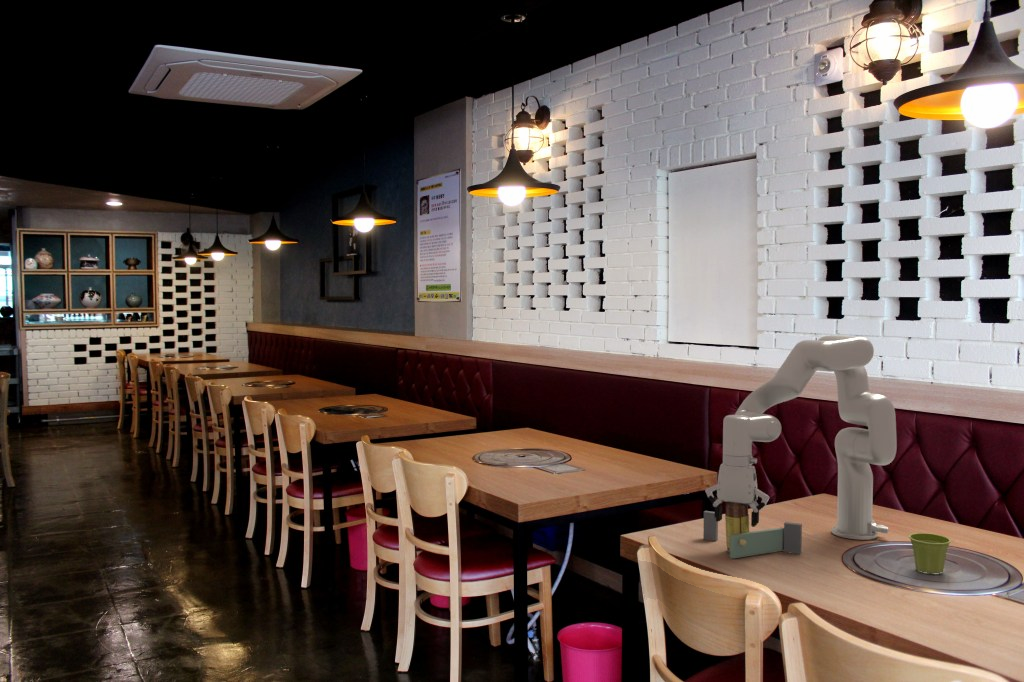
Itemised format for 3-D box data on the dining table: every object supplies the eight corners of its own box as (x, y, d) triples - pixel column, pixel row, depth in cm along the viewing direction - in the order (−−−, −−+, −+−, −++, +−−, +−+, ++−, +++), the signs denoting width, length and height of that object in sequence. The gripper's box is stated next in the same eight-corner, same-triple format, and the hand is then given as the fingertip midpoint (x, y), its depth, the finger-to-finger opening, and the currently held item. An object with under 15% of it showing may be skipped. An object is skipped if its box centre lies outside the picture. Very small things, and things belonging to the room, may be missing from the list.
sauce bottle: (746, 548, 223) (746, 477, 222) (752, 555, 217) (752, 482, 216) (723, 548, 223) (722, 477, 223) (728, 555, 217) (727, 482, 216)
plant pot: (934, 580, 198) (935, 545, 197) (900, 569, 206) (900, 535, 206) (958, 574, 202) (959, 540, 202) (924, 563, 210) (924, 531, 210)
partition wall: (801, 553, 219) (801, 523, 219) (800, 554, 218) (800, 525, 218) (705, 537, 234) (705, 510, 234) (703, 539, 233) (703, 511, 232)
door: (782, 548, 222) (782, 527, 222) (788, 551, 220) (789, 529, 220) (729, 557, 215) (729, 535, 214) (736, 560, 212) (736, 537, 212)
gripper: (773, 461, 217) (772, 524, 217) (710, 455, 226) (709, 515, 227) (765, 466, 210) (764, 531, 211) (701, 459, 220) (700, 521, 220)
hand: (736, 523), depth 219 cm, fingers open, 9 cm apart
